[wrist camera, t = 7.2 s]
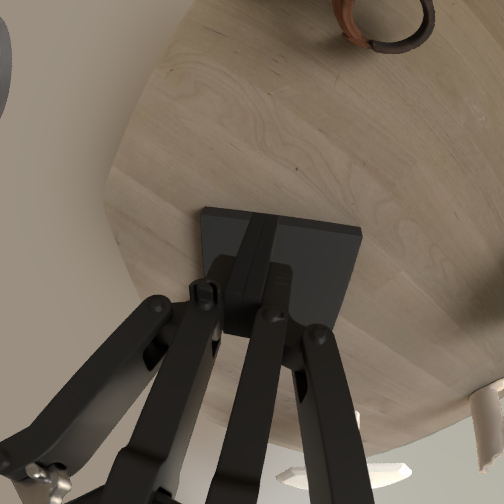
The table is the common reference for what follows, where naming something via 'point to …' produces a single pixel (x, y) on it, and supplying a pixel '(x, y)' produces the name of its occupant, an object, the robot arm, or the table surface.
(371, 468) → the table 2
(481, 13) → the table surface
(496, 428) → the candle
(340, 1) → the pottery mug
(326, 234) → the scale
